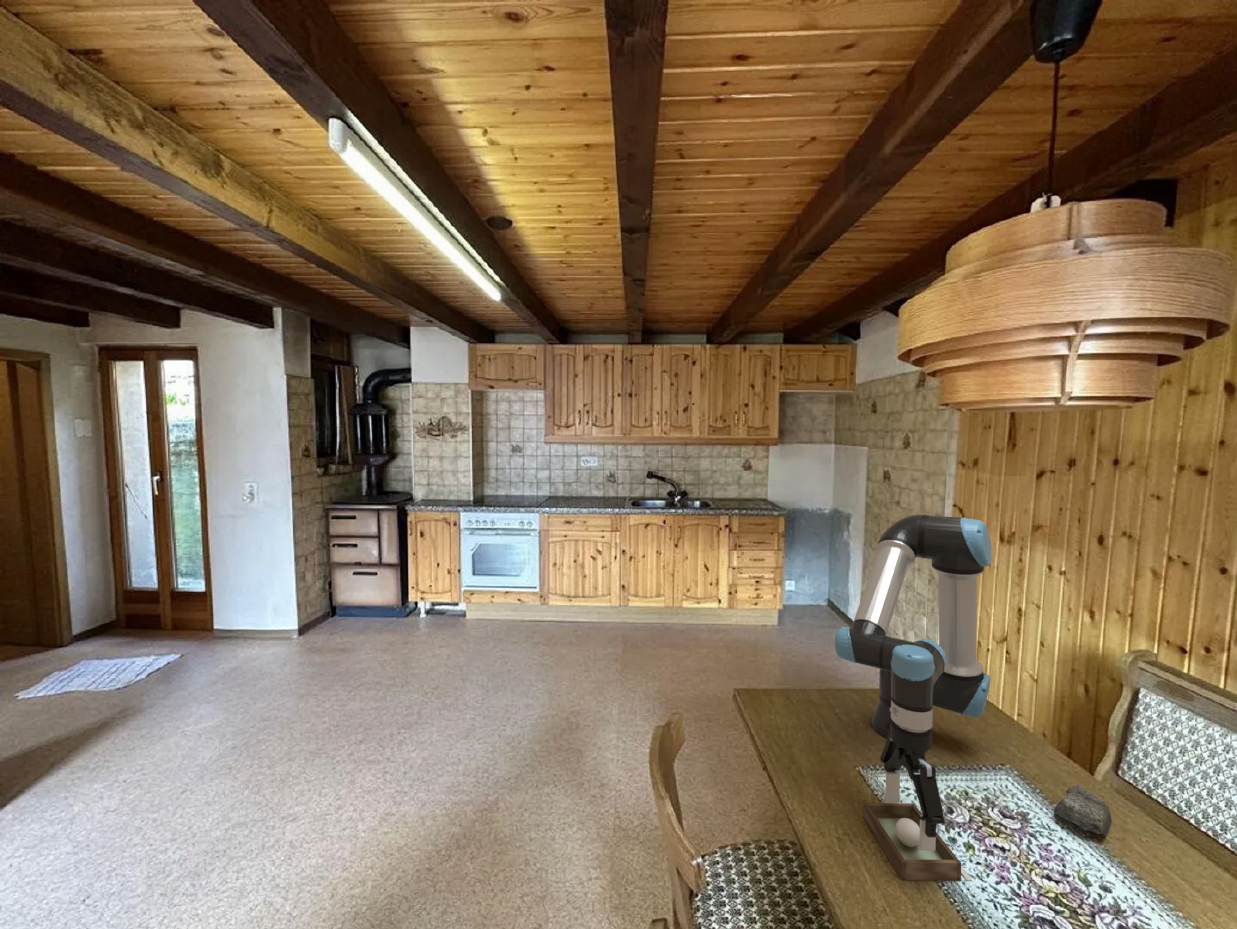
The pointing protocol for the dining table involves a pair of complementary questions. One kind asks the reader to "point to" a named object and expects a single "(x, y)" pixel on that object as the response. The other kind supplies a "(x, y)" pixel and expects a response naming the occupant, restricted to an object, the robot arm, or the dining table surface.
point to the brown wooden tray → (910, 859)
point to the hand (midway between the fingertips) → (908, 824)
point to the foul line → (965, 875)
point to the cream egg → (907, 832)
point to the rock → (1084, 810)
